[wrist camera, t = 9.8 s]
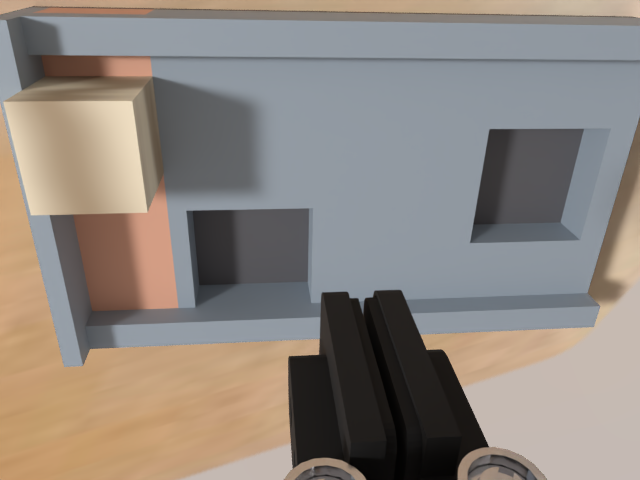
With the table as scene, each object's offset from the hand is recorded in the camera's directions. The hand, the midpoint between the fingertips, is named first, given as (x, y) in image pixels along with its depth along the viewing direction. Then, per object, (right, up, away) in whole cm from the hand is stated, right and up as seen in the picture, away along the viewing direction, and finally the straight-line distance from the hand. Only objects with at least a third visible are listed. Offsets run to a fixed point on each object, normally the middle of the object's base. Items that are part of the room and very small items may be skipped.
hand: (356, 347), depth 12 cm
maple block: (-12, +8, +16) cm, 21 cm away
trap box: (+1, +6, +22) cm, 23 cm away
